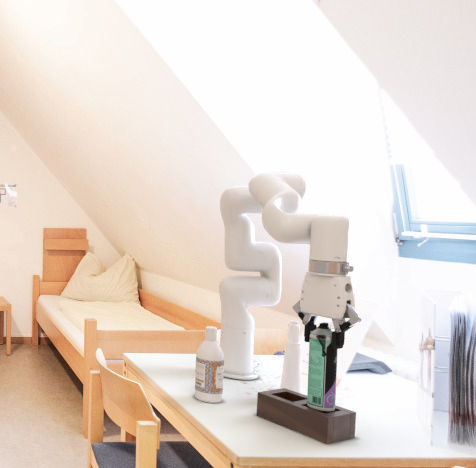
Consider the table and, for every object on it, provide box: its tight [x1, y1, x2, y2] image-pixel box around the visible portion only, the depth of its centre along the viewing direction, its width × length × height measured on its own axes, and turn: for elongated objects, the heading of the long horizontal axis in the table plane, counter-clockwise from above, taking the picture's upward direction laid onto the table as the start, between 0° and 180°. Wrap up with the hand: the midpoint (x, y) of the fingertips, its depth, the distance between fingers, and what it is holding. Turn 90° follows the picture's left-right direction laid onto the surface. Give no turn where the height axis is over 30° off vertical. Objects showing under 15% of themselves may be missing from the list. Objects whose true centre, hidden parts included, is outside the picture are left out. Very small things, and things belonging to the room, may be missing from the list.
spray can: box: [306, 322, 338, 411], centre depth 125 cm, size 6×6×20 cm
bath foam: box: [194, 325, 224, 404], centre depth 146 cm, size 7×7×20 cm
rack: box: [256, 388, 357, 445], centre depth 129 cm, size 10×18×6 cm, turn 23°
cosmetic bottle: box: [279, 319, 303, 394], centre depth 147 cm, size 6×6×22 cm
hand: (323, 344), depth 125 cm, fingers closed on spray can, 5 cm apart
